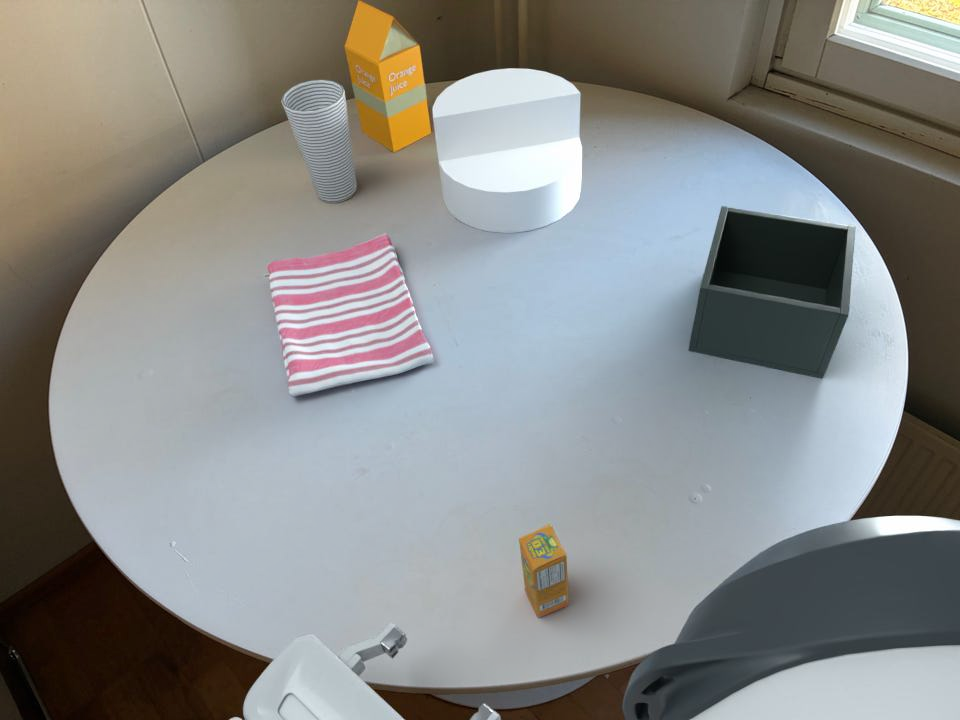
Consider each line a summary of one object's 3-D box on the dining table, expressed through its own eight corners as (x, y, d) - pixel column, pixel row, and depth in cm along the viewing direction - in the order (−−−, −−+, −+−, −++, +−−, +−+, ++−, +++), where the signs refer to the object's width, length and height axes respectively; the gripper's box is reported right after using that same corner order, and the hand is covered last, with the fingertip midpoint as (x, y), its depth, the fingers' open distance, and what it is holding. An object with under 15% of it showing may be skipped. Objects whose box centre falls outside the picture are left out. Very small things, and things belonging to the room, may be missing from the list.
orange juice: (393, 152, 120) (370, 26, 105) (361, 132, 124) (335, 8, 110) (432, 132, 123) (415, 6, 108) (399, 113, 128) (379, -10, 113)
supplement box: (520, 589, 70) (516, 534, 62) (554, 575, 71) (554, 519, 63) (535, 621, 68) (532, 569, 60) (570, 607, 68) (572, 553, 61)
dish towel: (393, 247, 104) (389, 226, 102) (437, 367, 89) (433, 347, 86) (269, 278, 102) (261, 257, 99) (291, 407, 86) (283, 387, 84)
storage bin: (832, 291, 93) (855, 226, 85) (823, 378, 84) (848, 315, 76) (709, 269, 97) (721, 205, 89) (688, 350, 88) (700, 287, 81)
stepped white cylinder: (455, 244, 104) (445, 159, 94) (433, 163, 117) (422, 81, 107) (598, 218, 105) (603, 132, 95) (560, 141, 118) (560, 58, 109)
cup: (299, 188, 115) (271, 93, 103) (349, 168, 118) (327, 72, 106) (323, 216, 110) (296, 118, 98) (375, 193, 113) (355, 96, 101)
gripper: (412, 956, 44) (556, 752, 50) (200, 717, 53) (345, 572, 60) (425, 965, 48) (556, 778, 55) (229, 744, 58) (360, 607, 65)
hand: (444, 669), depth 57 cm, fingers open, 8 cm apart
